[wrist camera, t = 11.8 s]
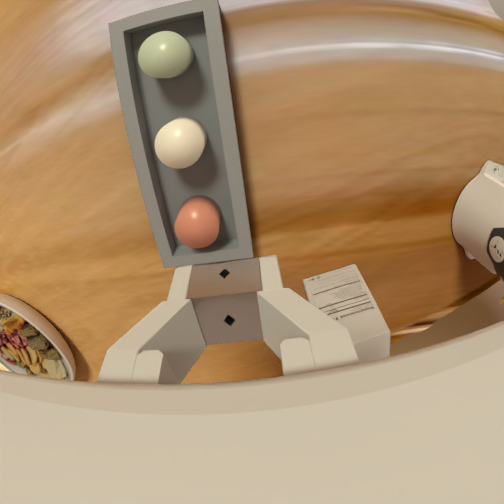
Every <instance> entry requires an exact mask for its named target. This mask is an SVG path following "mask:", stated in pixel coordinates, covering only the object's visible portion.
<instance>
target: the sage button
mask: <svg viewBox="0 0 504 504" xmlns="http://www.w3.org/2000/svg"><path fill="white" fill-rule="evenodd" d="M193 60H194V50H193V47H192V45H191V44H190V43H189V42H188V41H187V40H186V39H184V38H183V37H182V36H180V35H179V34H177V33H175V32H171V31H161V32H157V33H155V34H153V35H151V36H150V37H148V38H147V39H146V40H145V41H144V42H143V44H142V45H141V47H140V50H139V53H138V62H139V65H140V67H141V69H142V70H143V71H144V72H145V73H146V74H147V75H149V76H151V77H154V78H175V77H178V76H181V75H182V74H184V73H185V72H186V71H187V70H188V69H189V68H190V67H191V65H192V63H193Z"/></svg>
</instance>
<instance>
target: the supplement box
mask: <svg viewBox="0 0 504 504" xmlns="http://www.w3.org/2000/svg"><path fill="white" fill-rule="evenodd" d="M303 284H304V288H305V292H306V295H307V299H308V302H310V303H311V304H312V305H314V306H315V307H317V308H318V309H320V310H321V311H323V312H324V313H325V314H327V315H328V316H330V317H331V318H333V319H334V320H336V321H337V322H338V323H340V324H341V325H343V326H344V327H346V328H347V329H348V332H349V334H350V337H351V340H352V343H353V346H354V348H355V351H356V354H357V357H358V360H359V363H364V362H369V361H373V360H378V359H382V358H386V357H389V355H390V330H389V328H388V326H387V324H386V322H385V320H384V318H383V316H382V314H381V312H380V310H379V308H378V306H377V304H376V302H375V300H374V298H373V296H372V294H371V292H370V290H369V288H368V287H367V285H366V283H365V281H364V279H363V277H362V275H361V274H360V272H359V270H358V268H357V266H356V264H352V265H349V266H346V267H343V268H340V269H336V270H333V271H330V272H326V273H323V274H320V275H317V276H313V277H310V278H307V279H304V280H303Z"/></svg>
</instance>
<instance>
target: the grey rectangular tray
mask: <svg viewBox="0 0 504 504" xmlns="http://www.w3.org/2000/svg"><path fill="white" fill-rule="evenodd" d="M161 31H171V32H175V33H177V34H179V35H180V36H182V37H183V38H184V39H186V40H187V41H188V42H189V43H190V44H191V45H192V47H193V50H194V60H193V63H192V65H191V67H190V68H189V69H188V70H187V71H186V72H185V73H184V74H182V75H181V76H178V77H175V78H154V77H151V76H149V75H147V74H146V73H145V72H144V71H143V70H142V69H141V67H140V65H139V62H138V53H139V50H140V47H141V45H142V44H143V42H144V41H145V40H146V39H147V38H148V37H150V36H151V35H153V34H155V33H157V32H161ZM109 33H110V41H111V48H112V55H113V61H114V68H115V74H116V80H117V86H118V91H119V97H120V102H121V107H122V112H123V117H124V122H125V126H126V131H127V135H128V140H129V144H130V149H131V153H132V157H133V161H134V165H135V169H136V173H137V177H138V181H139V185H140V188H141V192H142V196H143V199H144V203H145V207H146V210H147V214H148V217H149V221H150V224H151V227H152V231H153V234H154V237H155V240H156V244H157V247H158V250H159V253H160V256H161V259H162V262H163V265H164V268H170V267H179V266H187V265H195V264H204V263H212V262H220V261H228V260H237V259H245V258H253V245H252V237H251V230H250V222H249V215H248V208H247V201H246V194H245V186H244V179H243V172H242V165H241V157H240V150H239V143H238V136H237V129H236V122H235V114H234V107H233V100H232V93H231V86H230V79H229V71H228V64H227V57H226V50H225V43H224V36H223V29H222V22H221V15H220V8H219V2H218V0H192V1H187V2H182V3H177V4H173V5H169V6H165V7H161V8H157V9H153V10H150V11H146V12H143V13H139V14H136V15H133V16H130V17H127V18H124V19H121V20H118V21H115V22H112V23H109ZM184 116H187V117H192V118H195V119H197V120H198V121H200V122H201V123H202V125H203V126H204V128H205V130H206V133H207V142H206V145H205V148H204V150H203V152H202V154H201V156H200V157H199V159H198V160H197V161H196V162H195V163H194V164H193V165H191V166H189V167H186V168H181V169H176V168H171V167H169V166H167V165H165V164H164V163H163V162H161V161H160V159H159V158H158V156H157V154H156V151H155V138H156V136H157V134H158V132H159V131H160V129H161V128H162V127H163V126H165V125H166V124H168V123H169V122H171V121H172V120H174V119H176V118H178V117H184ZM196 195H203V196H207V197H209V198H211V199H213V200H214V201H215V202H216V203H217V205H218V206H219V208H220V213H221V216H220V225H219V233H218V236H217V238H216V240H215V241H214V242H213V243H212V244H211V245H209V246H207V247H204V248H192V247H189V246H187V245H185V244H183V243H182V242H181V241H180V240H179V239H178V237H177V236H176V233H175V221H176V219H177V216H178V214H179V211H180V209H181V206H182V204H183V203H184V202H185V201H186V200H187V199H188V198H190V197H192V196H196Z"/></svg>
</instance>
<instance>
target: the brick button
mask: <svg viewBox="0 0 504 504" xmlns="http://www.w3.org/2000/svg"><path fill="white" fill-rule="evenodd" d="M220 216H221V213H220V208H219V206H218V205H217V203H216V202H215V201H214V200H213V199H211V198H209V197H207V196H203V195H196V196H192V197H190V198H188V199H187V200H186V201H185V202H184V203H183V204H182V206H181V209H180V211H179V214H178V216H177V219H176V221H175V233H176V236H177V237H178V239H179V240H180V241H181V242H182V243H183V244H185V245H187V246H189V247H192V248H204V247H207V246H209V245H211V244H212V243H213V242H214V241H215V240H216V238H217V236H218V233H219V225H220Z"/></svg>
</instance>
